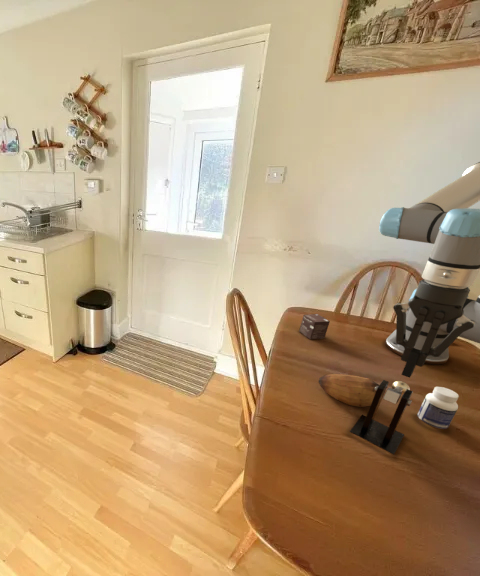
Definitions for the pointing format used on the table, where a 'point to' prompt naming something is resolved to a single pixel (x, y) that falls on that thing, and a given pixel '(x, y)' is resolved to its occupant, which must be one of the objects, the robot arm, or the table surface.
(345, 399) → the potato
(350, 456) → the table surface
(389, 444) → the black lever stand
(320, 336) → the box
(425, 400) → the pill bottle
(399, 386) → the hinged lever
